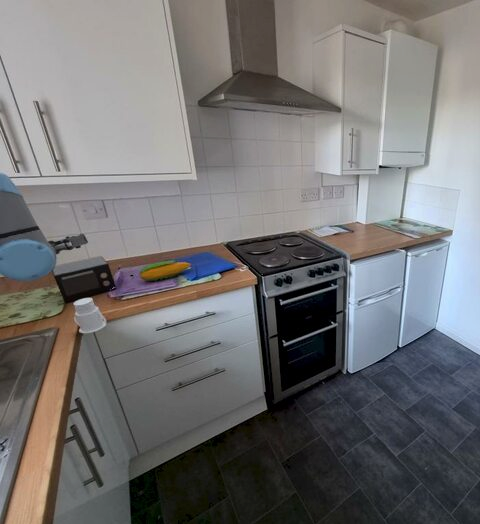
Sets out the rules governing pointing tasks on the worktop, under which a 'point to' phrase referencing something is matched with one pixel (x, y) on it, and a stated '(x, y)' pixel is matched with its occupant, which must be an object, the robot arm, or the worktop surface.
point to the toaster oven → (83, 278)
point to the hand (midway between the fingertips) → (36, 249)
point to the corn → (162, 270)
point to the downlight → (88, 316)
